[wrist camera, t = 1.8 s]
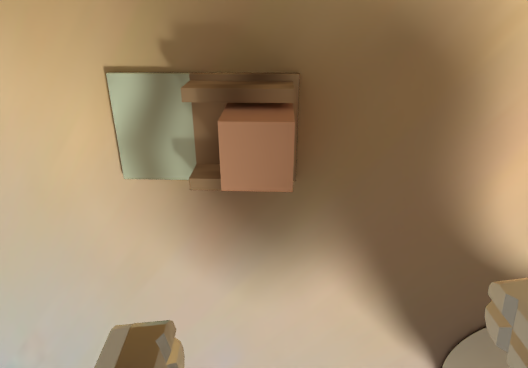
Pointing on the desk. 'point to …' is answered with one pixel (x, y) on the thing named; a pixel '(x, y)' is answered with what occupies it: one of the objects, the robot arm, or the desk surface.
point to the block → (257, 147)
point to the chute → (185, 119)
